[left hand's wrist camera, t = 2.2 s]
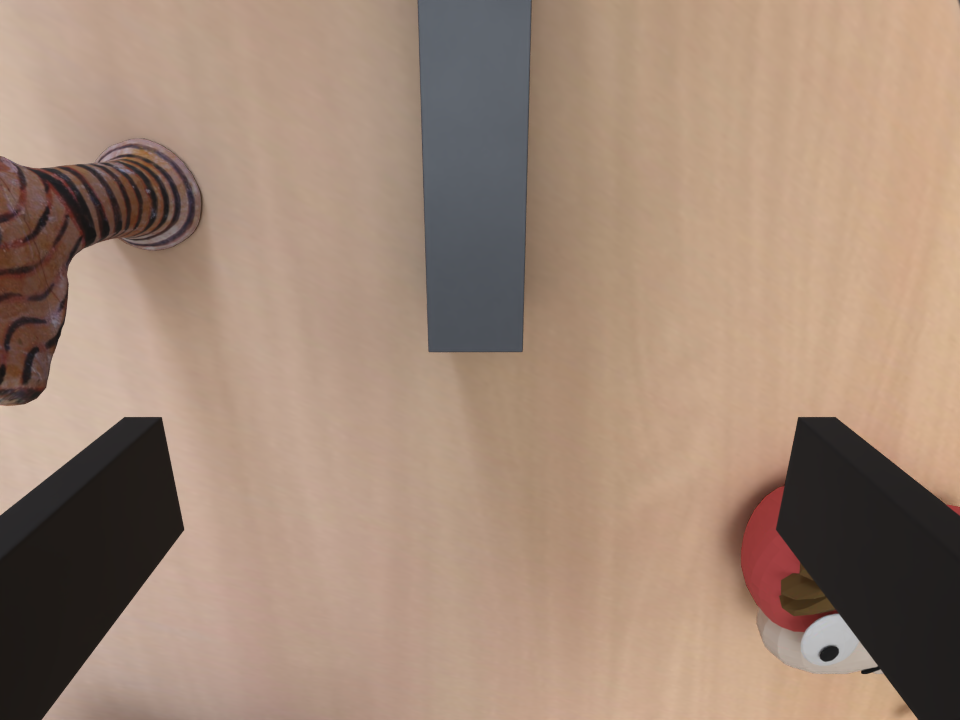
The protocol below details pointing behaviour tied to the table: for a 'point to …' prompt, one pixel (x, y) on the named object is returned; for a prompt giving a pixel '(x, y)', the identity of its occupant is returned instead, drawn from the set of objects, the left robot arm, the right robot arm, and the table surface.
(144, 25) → the table surface
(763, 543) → the toy
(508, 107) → the bar
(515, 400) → the table surface
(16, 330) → the figurine
